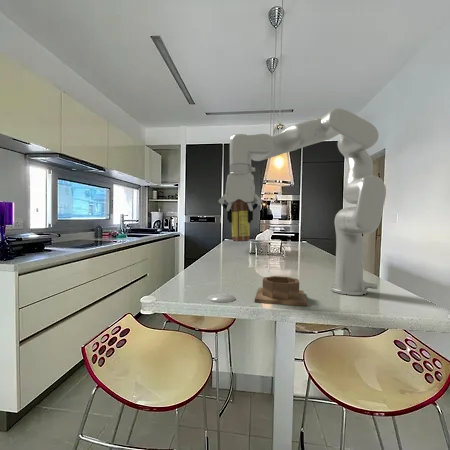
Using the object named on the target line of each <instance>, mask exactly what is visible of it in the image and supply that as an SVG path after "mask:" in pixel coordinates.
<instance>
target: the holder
mask: <svg viewBox="0 0 450 450" xmlns="http://www.w3.org/2000/svg"><path fill="white" fill-rule="evenodd" d="M305 295H306V294H305V291H304V290H300V280H299V279H298V278H294V277H290V276H277V275H273V276H271V275H270V276H264V277H263V278H262V287H258V288H257V291H256V294H255V296H254V303H261V304H263V303H264V304H274V305H287V306H288V305H289V306H298V307H299V306H301V307H307V306H308V303H307V299H306V296H305Z"/></svg>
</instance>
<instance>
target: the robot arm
mask: <svg viewBox="0 0 450 450" xmlns="http://www.w3.org/2000/svg"><path fill="white" fill-rule="evenodd" d="M339 135H341V136H339ZM337 136H339V139H338V140H337V148H338V151H339V152H340V154H341V155H342V156H343V157H344V158H345V160H346V162H347V173H346V177H345V178H346V179H345V183H344V188H343V199H344V200H345V202H347V203H348V204H351V205H356V206H350V207H344V208H341V209H340V210H338V212H337V213H336V214H335V217H334V229H335V241H336V245H335V246H336V247H335V275H334V278H335V280H334V284H333V285H331V286H330V291H332V292H335V293H337V294H342V295H346V294H347V295H348V296H364V295H363V294H365V295H367V294H368V289H371V290H372V289H374V290H375V289H376V290H377V289H378V284H377V283H372V282H368V281H365V280H364V255H365V254H364V253H365V244H364V243H365V242H364V238H363V235H365V234H367V235H368V234H371V233H374V232H375V231H376V230H377V229H378V228H379V226H380V223H381V221H382V217H383V211H384V206H385V202H386V196H387V195H386V194H387V188H386V184H385V182H384V180H383V179H382V178H381V177H379V176H376V175H373V170H374V163H373V160H372V158H371V156H370V154H369V152H368V151H367V150H368V149H371V148H373V147H374V146H375V144H376V143H377V142H378V140H379V131H378V129H377V128H376V126H375V125H373V123H371V122H369V121H367V120H366V119H365V118H362V117H361V116H359V115H357V114H355V113H353V112H351V111H349V110H346V109H344V108H339V107H337V108H333V109H331V110H330V111H329V112H327V113H326V114H324V115H323V116H320V117H316V118H313V119H310V120H306V121H302V122H299V123H295V124H293V125H291V126H289V127H287V128H286V129H284V130H283V131H281V132H279V133H277V134H275V135H272V136H271V135H270V134H268V133H255V134H246V133H245V134H243V133H238V134H233V135H232V136H230V138H229V174H227V177H226V183H225V193H224V194H223V195H222V196H221V197H220V198H219V199H218V201H217V202H218V203H219V204H220V205H221V206H222V207H223V208H224V209H225V210H226V211H227V216H226V218H227V219H226V220H227V221H228V223H231V224H232V215H231V212H232V207H231V206H232V203H233V202H234V201H236V200H237V199H241V200H243V201H244V202H245V203H247V204H248V207H249V211H248V222H249V224H251V223H252V221H253V220H254V211H255V210H256V209H257V208H258V207H259V206H260V205H261V203H263V199H262V198H261V197H260V196H259V195H258V194H257V193H256V188H255V187H256V185H255V178H254V174H252V172H253V173H254V172H256V167H253V166H252V161H253V162H261V161H264V160H267V159H270V158H274V157H277V156H280V155H282V154H286V153H290V152H293V151H297V150H298V149H302V148H306V147H307V146H311V145H314V144H318V143H322V142H324V141H327V140H328V141H329V140H330V139H333V138H335V137H337ZM226 203H228V204H226ZM366 293H367V294H366Z"/></svg>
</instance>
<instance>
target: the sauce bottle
mask: <svg viewBox="0 0 450 450" xmlns="http://www.w3.org/2000/svg"><path fill="white" fill-rule="evenodd" d="M231 207H232V209H231V210H232V212H231V215H232V223H231V238H232V241H233V242H249V241H250V237H251V231H250V227H251V226H250V223H249V222H248V211H249V207H248V204H247V203H245V202H244V201H243V200H241V199H237V200H236V201H234V202H233V203H232V206H231Z"/></svg>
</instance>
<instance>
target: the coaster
mask: <svg viewBox="0 0 450 450" xmlns="http://www.w3.org/2000/svg"><path fill="white" fill-rule="evenodd" d="M207 300H208V301H210V302H212V303H220V304H221V303H222V304H223V303H231V302H234V301H235V300H236V298H235V296H234V295H233V294H229V293H228V294H227V293H215V294H214V293H213V294H210V295H208V296H207Z"/></svg>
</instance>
